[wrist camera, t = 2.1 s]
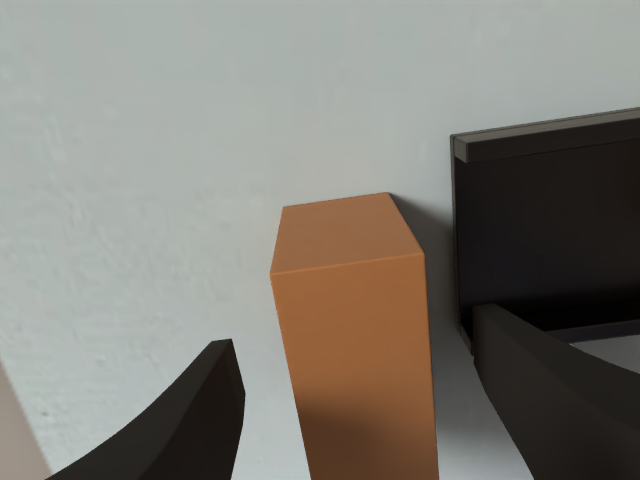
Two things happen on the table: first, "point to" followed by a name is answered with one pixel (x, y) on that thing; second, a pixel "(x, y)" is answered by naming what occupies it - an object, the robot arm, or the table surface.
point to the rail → (550, 224)
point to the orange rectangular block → (357, 338)
